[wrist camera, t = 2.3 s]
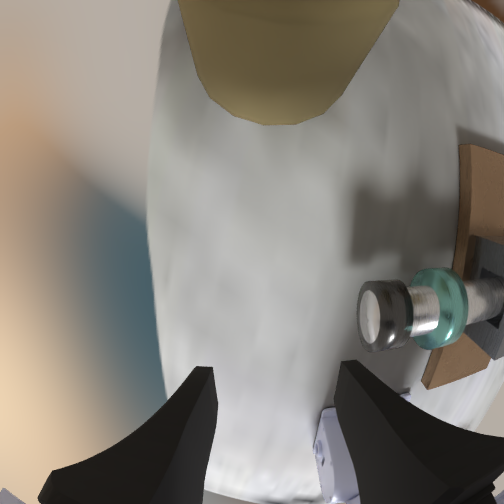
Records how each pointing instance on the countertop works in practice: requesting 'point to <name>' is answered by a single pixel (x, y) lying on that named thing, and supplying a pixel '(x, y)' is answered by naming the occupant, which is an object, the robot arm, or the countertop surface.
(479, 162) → the sharpening stone
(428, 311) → the shaft
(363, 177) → the countertop surface
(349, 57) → the squeeze bottle
